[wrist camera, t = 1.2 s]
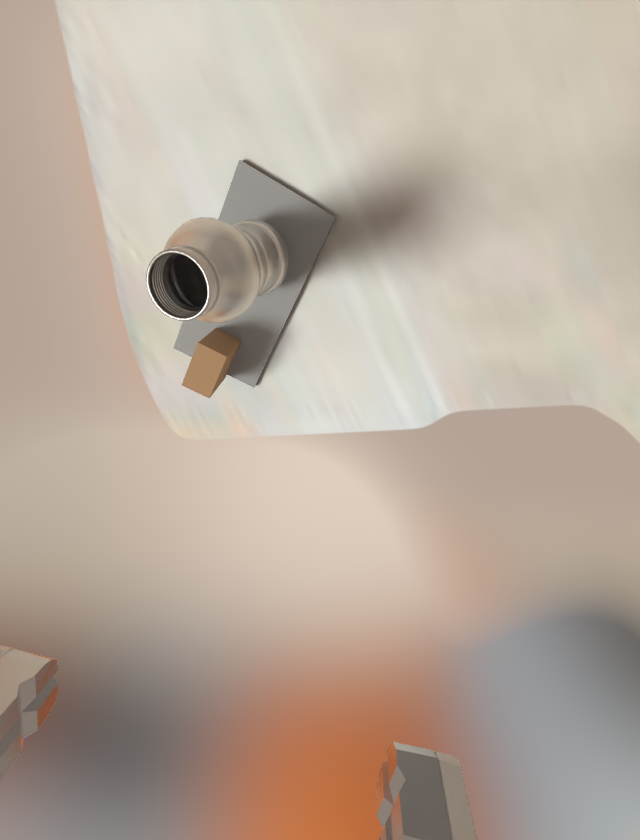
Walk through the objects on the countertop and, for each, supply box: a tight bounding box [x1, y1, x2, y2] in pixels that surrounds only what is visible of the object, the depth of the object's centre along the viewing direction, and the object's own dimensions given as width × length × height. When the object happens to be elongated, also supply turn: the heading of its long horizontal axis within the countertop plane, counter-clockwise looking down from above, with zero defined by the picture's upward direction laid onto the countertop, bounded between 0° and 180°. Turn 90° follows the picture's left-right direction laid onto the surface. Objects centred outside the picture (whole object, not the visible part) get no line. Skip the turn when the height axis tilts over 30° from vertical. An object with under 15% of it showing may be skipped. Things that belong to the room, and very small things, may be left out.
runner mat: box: [174, 160, 336, 398], centre depth 37 cm, size 20×10×6 cm, turn 152°
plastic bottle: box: [146, 217, 288, 323], centre depth 29 cm, size 6×7×20 cm
